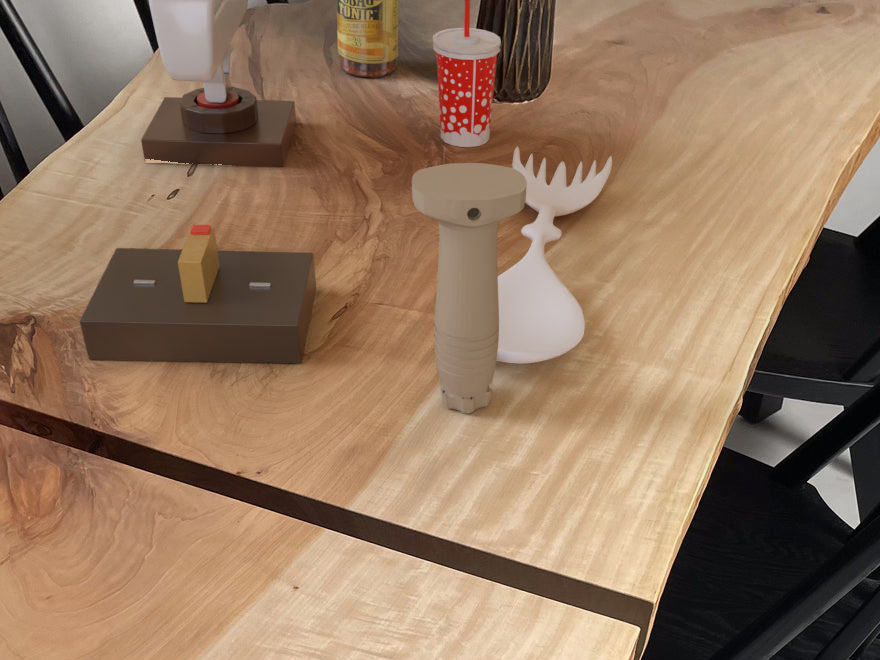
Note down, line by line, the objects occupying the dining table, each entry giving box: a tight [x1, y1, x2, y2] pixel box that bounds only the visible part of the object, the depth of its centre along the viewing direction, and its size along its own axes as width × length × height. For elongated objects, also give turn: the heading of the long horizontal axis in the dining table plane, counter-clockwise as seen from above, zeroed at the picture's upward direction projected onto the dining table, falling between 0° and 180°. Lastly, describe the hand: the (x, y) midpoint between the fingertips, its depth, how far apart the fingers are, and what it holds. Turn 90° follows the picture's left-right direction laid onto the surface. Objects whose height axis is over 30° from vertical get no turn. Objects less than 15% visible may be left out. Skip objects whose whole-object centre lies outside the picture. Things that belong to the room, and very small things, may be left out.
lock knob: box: [178, 224, 219, 303], centre depth 74 cm, size 5×2×3 cm, turn 2°
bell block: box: [140, 86, 297, 168], centre depth 99 cm, size 12×10×4 cm
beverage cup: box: [432, 0, 502, 148], centre depth 99 cm, size 6×6×14 cm
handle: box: [411, 162, 527, 414], centre depth 66 cm, size 5×6×15 cm
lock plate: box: [79, 247, 317, 364], centre depth 76 cm, size 14×10×3 cm
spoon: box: [496, 145, 613, 364], centre depth 84 cm, size 9×32×4 cm, turn 172°
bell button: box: [197, 91, 239, 109], centre depth 98 cm, size 4×4×2 cm
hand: (219, 96), depth 97 cm, fingers closed, pressing on bell button
